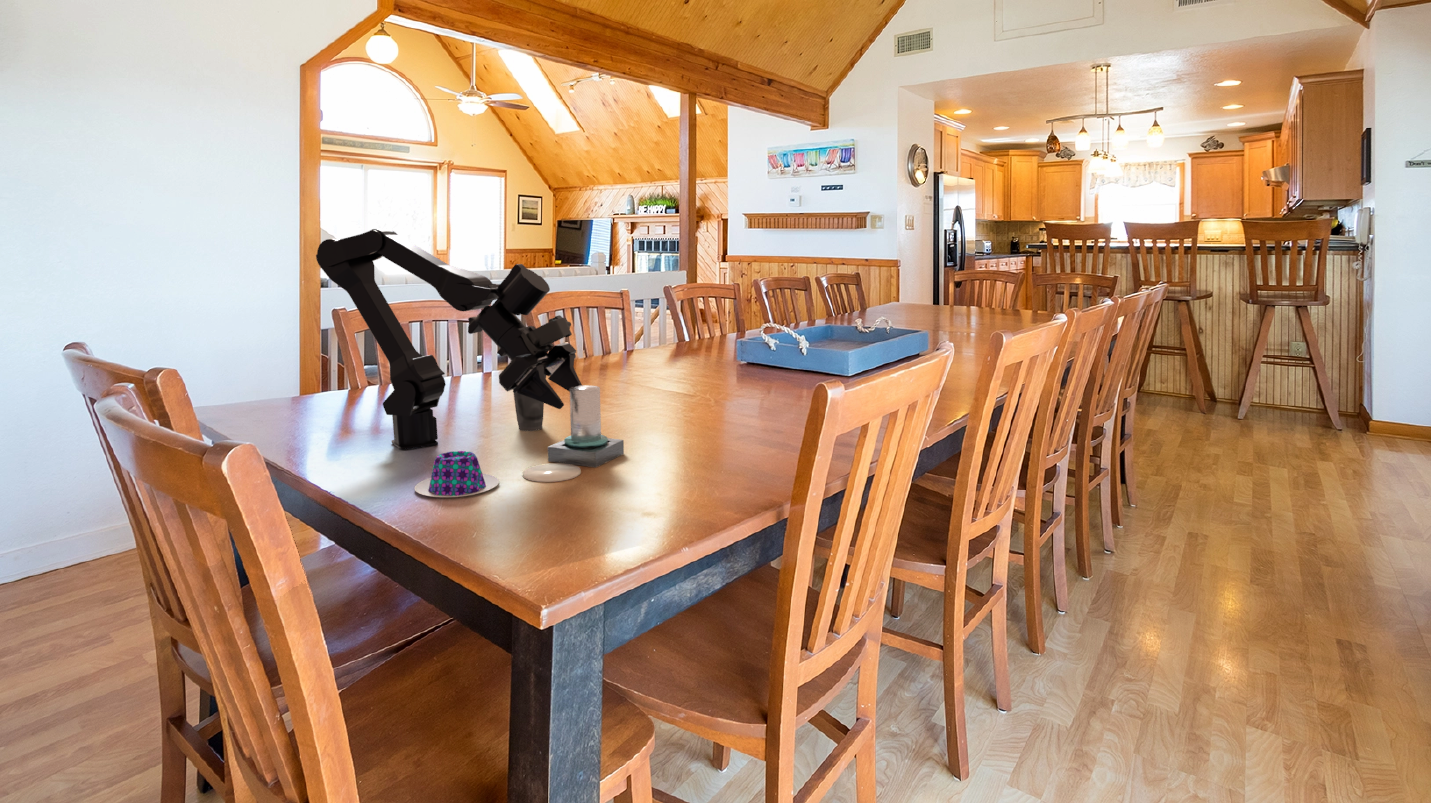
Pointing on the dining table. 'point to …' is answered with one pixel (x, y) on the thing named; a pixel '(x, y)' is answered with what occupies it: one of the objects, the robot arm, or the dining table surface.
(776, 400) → the dining table surface
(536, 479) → the coaster
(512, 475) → the dining table surface
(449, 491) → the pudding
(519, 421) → the beverage cup
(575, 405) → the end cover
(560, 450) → the box
